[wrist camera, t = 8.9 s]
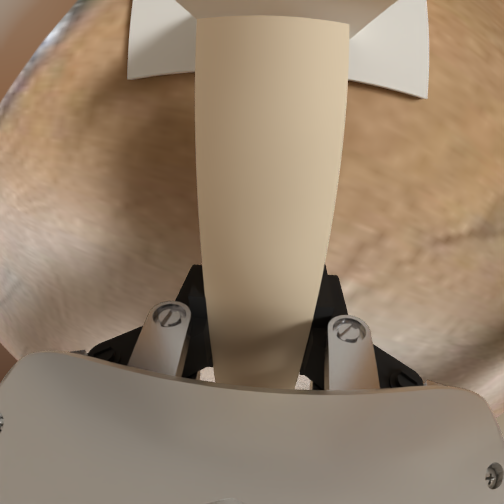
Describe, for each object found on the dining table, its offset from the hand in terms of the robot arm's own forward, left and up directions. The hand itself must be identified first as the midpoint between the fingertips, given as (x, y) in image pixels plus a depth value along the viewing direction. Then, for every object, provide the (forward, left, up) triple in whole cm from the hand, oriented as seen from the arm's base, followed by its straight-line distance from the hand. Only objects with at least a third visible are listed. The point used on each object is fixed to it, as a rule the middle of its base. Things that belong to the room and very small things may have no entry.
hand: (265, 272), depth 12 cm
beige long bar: (0, 0, -1) cm, 1 cm away
